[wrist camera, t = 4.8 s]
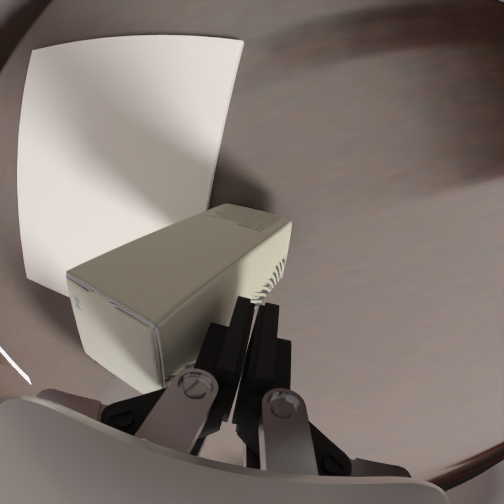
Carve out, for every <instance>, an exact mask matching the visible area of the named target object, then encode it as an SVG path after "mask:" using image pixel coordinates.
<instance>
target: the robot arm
mask: <svg viewBox="0 0 504 504" xmlns="http://www.w3.org/2000/svg"><path fill="white" fill-rule="evenodd" d="M500 1H502V2H504V0H500ZM254 310H255V303H251V299H250V298H246V297H241V296H238V297H237V301H236V304H235V307H234V311H233V314H232V317H231V321H230V324H229V327H228V326H224V325H220V324H216V323H213V322H211V324H210V326H209V329H208V331H207V334H206V337H205V339H204V342H203V344H202V347H201V349H200V352H199V355H198V357H197V360H196V363H195V365H194V368H190V369H185V370H183V371H181V372H179V373H178V374H177V375H176V376H175V377H174V378H173V380H172V381H171V383H170V384H169V386H168V387H166V388H163V389H160V390H156V391H153V392H150V393H146V394H143V395H140V396H136V397H133V398H129V399H126V400H122V401H118V402H115V403H112V404H110V405H105V404H102V403H101V401H98V400H94V399H89V398H85V397H81V396H77V395H74V394H70V393H66V392H63V391H59V390H56V389H45V390H42V391H41V392H39V393H38V394H37V396H36V397H35V396H30V395H22V394H11V395H6V396H4V397H2V398H0V504H450V502H449V499H448V497H447V496H446V494H445V492H444V491H443V490H442V489H441V488H440V487H438V486H436V485H434V484H432V483H430V482H426V481H423V480H419V479H415V478H411V476H410V474H409V472H408V471H407V470H406V469H405V468H403V467H400V466H395V465H389V464H383V463H378V462H373V461H368V460H364V459H359V458H356V459H355V460H352V459H349V457H348V456H347V455H346V454H345V453H344V452H343V451H342V450H340V449H339V448H338V447H337V446H336V445H335V444H334V443H333V442H331V441H330V440H329V439H328V438H327V437H326V436H325V435H324V434H323V433H321V432H320V431H319V430H318V429H317V428H316V427H315V426H314V425H313V424H312V423H311V422H309V421H308V415H307V410H306V405H305V403H304V400H303V399H302V398H301V397H300V395H298V394H297V393H295V392H294V391H291V390H290V381H291V341H289V340H285V339H280V338H277V331H278V317H279V305H275V304H271V303H267V302H266V303H265V306H264V305H260V306H259V309H258V313H257V316H256V320H255V324H254V327H253V331H252V334H251V338H250V341H249V345H248V340H249V335H250V330H251V325H252V320H253V315H254ZM247 345H248V349H247ZM246 350H247V352H246ZM245 355H246V356H245ZM244 360H245V361H244ZM241 374H242V375H241ZM240 378H241V380H240ZM239 381H240V385H239V390H238V395H237V400H236V405H235V409H234V414H233V419H232V423H233V424H237V427H236V432H237V435H238V436H239V437H240V438H241V439H242V441H243V442H244V443H243V467H242V466H237V465H232V464H227V463H222V462H218V461H213V460H209V459H205V458H201V457H199V455H200V453H201V451H202V448H203V446H204V444H205V442H206V440H207V438H208V435H210V434H212V433H214V432H217V431H219V430H220V426H221V422H222V421H224V422H227V421H228V418H229V415H230V411H231V408H232V405H233V401H234V398H235V395H236V391H237V388H238V384H239Z"/></svg>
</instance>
